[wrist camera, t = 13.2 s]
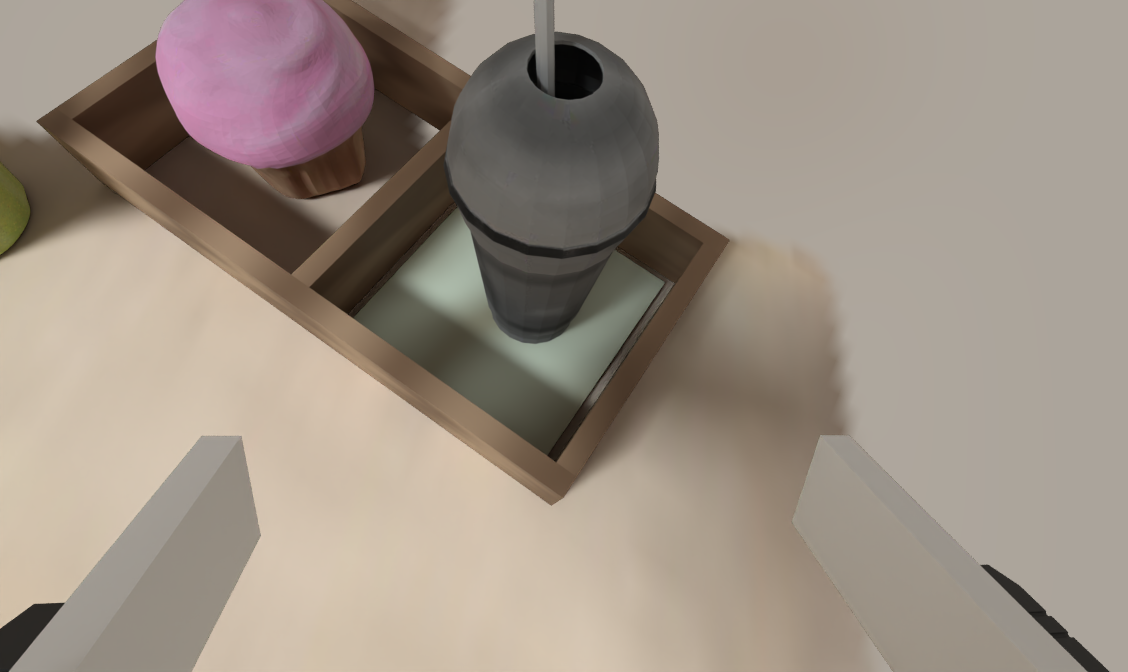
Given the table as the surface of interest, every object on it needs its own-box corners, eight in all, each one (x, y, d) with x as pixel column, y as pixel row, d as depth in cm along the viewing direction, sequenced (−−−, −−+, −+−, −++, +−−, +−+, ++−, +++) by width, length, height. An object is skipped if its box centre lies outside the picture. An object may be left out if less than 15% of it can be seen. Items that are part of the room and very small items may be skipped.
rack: (101, 182, 29) (36, 121, 25) (306, 27, 34) (281, -44, 30) (551, 505, 26) (563, 497, 22) (697, 280, 31) (729, 240, 27)
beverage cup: (556, 396, 28) (675, 79, 9) (435, 322, 28) (317, -110, 10) (623, 287, 30) (821, -128, 12) (511, 223, 31) (532, -265, 12)
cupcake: (421, 194, 31) (392, 45, 22) (271, 261, 29) (167, 125, 19) (349, 85, 33) (295, -93, 24) (203, 139, 31) (80, -37, 21)
